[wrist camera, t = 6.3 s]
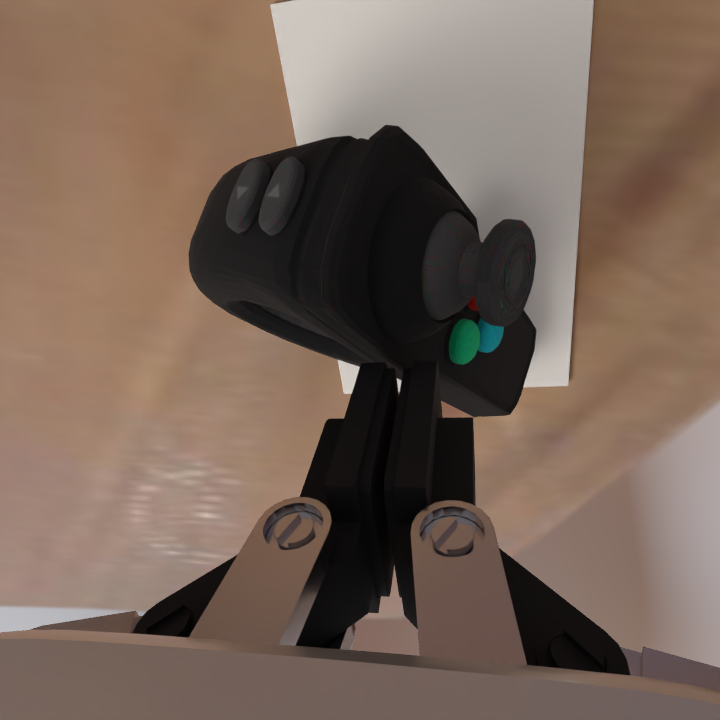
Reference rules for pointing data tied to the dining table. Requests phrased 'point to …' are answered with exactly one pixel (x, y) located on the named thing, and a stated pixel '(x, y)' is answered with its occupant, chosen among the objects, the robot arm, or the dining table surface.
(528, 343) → the controller
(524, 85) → the mat
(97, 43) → the dining table surface
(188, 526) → the dining table surface
